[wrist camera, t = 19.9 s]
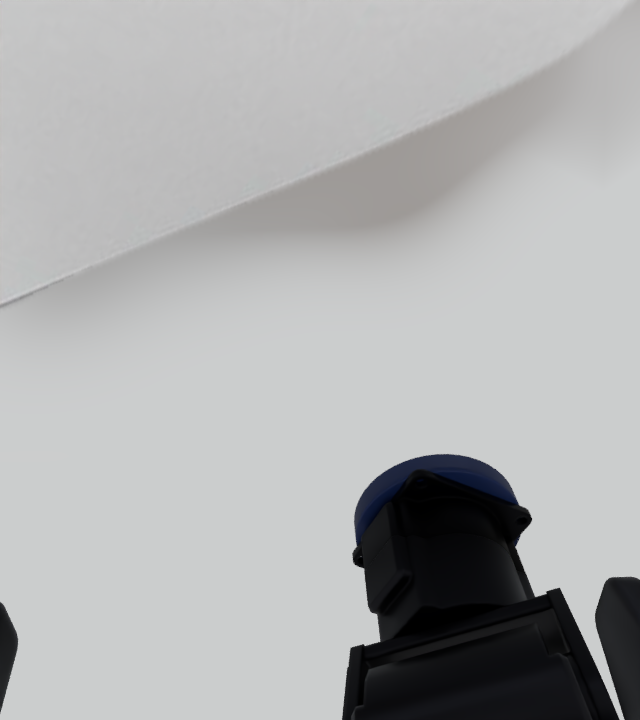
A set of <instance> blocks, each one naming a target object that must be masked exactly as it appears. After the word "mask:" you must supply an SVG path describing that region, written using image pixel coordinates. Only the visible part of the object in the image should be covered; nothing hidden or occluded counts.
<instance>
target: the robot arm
mask: <svg viewBox="0 0 640 720" xmlns="http://www.w3.org/2000/svg"><path fill="white" fill-rule="evenodd" d="M420 479H424V480H423V481H420V482H419V481H418V480H420ZM520 517H522V518H520ZM518 518H519V519H518ZM531 522H532V517H531V515H530V512H529V510H528V509H526V508H525V507H522V506H519V505H517V504H514V503H512V502H509V501H506V500H504V499H501V498H498V497H496V496H493V495H491V494H488V493H485V492H483V491H480V490H477V489H475V488H472V487H470V486H467V485H464V484H462V483H459V482H457V481H454V480H451V479H449V478H446V477H443V476H441V475H438V474H436V473H433V472H430V471H428V470H425V469H417V470H415V471H413V472H412V473H411V474H410V475H409V476H408V478H407V479H406V480H405V482H404V483H403V484H402V486H401V487H400V488H399V490H398V491H397V493H396V494H395V495H394V497H393V498H392V499H391V501H389V502H388V503H386V504H385V505H384V506H383V508H382V509H381V510H380V512H379V513H378V514H377V516H376V517H375V519H374V520H373V521H372V523H371V524H370V525H369V527H368V528H367V529H366V531H365V532H364V533H363V535H362V536H361V541H360V543H359V544H358V545H357V547H356V548H355V550H354V551H353V553H352V556H353V563H354V564H355V565H356V566H358V567H361V568H364V572H365V582H366V591H367V601H368V607H369V609H370V611H371V612H372V613H375V614H377V616H378V624H379V633H380V641H381V642H378V643H374V644H371V645H368V646H364V644H362V645H359V646H355V647H352V648H351V650H350V659H349V667H348V668H347V677H346V687H345V696H344V707H343V716H342V720H619V718H618V715H617V713H616V711H615V708H614V706H613V703H612V701H611V699H610V696H609V694H608V692H607V689H606V687H605V685H604V682H603V680H602V678H601V675H600V673H599V671H598V669H597V667H596V665H595V662H594V660H593V658H592V656H591V654H590V651H589V649H588V647H587V645H586V643H585V641H584V639H583V637H582V635H581V632H580V630H579V628H578V626H577V624H576V622H575V619H574V617H573V615H572V613H571V611H570V609H569V607H568V604H567V602H566V600H565V598H564V596H563V594H562V592H561V590H560V588H557V589H553V590H550V591H547V592H546V593H547V594H545V595H542V596H538V597H535V596H534V593H533V591H532V588H531V585H530V583H529V580H528V578H527V575H526V573H525V571H524V567H523V565H522V562H521V560H520V557H519V555H518V552H517V549H516V547H515V544H514V541H515V540H516V539H517V538H518V537H519V536H520V535H521V534H522V533H523V531H524V530H525V529H526V528H527V527H528V526H529V525H530V524H531ZM595 622H596V627H597V631H598V634H599V638H600V641H601V644H602V648H603V651H604V654H605V657H606V660H607V664H608V667H609V670H610V674H611V677H612V680H613V683H614V687H615V690H616V693H617V697H618V700H619V703H620V706H621V710H622V713H623V716H624V719H625V720H640V580H639V579H637V578H634V577H612V578H609V579H608V580H607V581H606V582H605V584H604V587H603V590H602V593H601V596H600V599H599V603H598V606H597V609H596V613H595ZM17 647H18V638H17V633H16V630H15V628H14V626H13V624H12V622H11V620H10V617H9V616H8V613H7V611H6V609H5V607H4V605H3V604H2V603H1V602H0V712H1V708H2V705H3V701H4V697H5V694H6V689H7V686H8V682H9V679H10V675H11V671H12V667H13V664H14V660H15V656H16V652H17Z"/></svg>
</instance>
